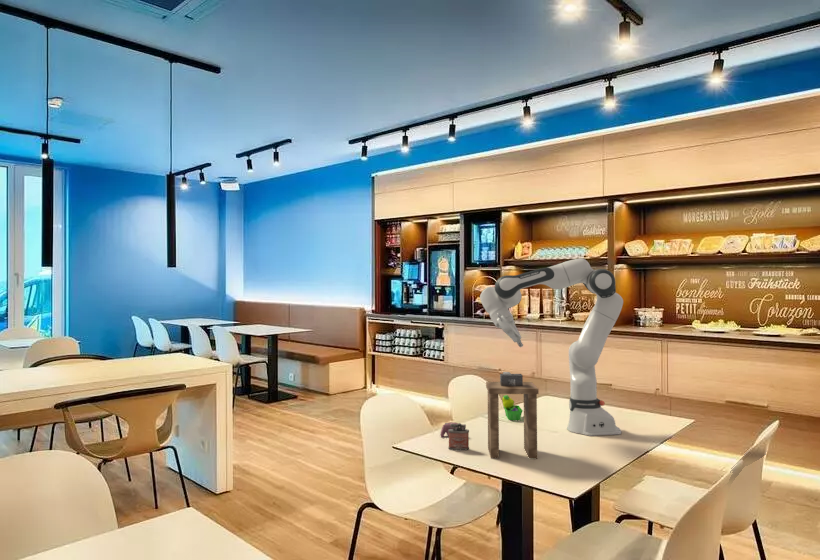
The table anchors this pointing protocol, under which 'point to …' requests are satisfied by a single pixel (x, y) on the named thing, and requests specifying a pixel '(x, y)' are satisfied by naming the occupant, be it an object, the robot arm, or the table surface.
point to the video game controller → (447, 428)
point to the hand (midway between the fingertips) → (518, 343)
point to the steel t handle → (511, 379)
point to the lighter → (458, 437)
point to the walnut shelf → (529, 416)
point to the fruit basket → (511, 408)
